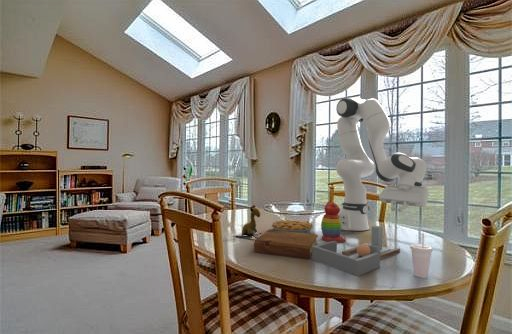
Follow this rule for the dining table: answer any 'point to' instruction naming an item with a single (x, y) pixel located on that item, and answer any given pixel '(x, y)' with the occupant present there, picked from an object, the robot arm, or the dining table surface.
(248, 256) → the dining table surface
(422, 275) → the smoothie
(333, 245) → the grey walled tray
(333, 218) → the stacking bear
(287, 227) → the pie
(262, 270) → the dining table surface
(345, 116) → the robot arm
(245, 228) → the stuffed giraffe
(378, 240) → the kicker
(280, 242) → the diary
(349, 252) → the lane
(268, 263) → the dining table surface
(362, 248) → the ball
